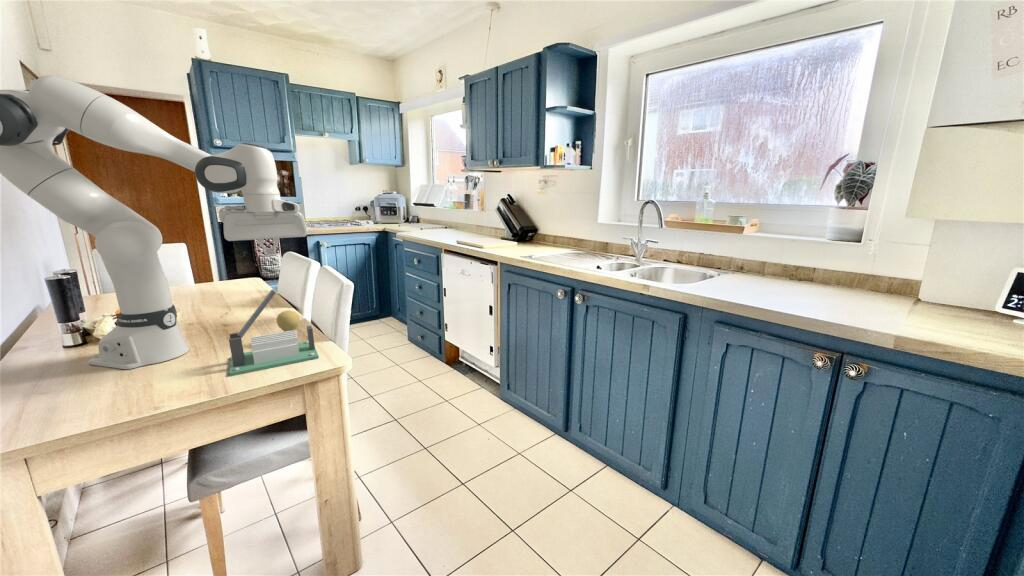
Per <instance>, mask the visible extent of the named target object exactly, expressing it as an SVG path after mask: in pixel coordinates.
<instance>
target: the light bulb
mask: <svg viewBox="0 0 1024 576" xmlns="http://www.w3.org/2000/svg"><path fill="white" fill-rule="evenodd" d="M300 322H301V318H300V314H299V313H298V312H296V311H295V310H290V309H289V310H284V311H281V312H280V313H279V314H278V315H277V317H276V324H277V326H278V328H279V329H281V330H282V332H286V331H292V330H295V333H296V335H297V340H298V339H299V338H298V337H299V336H298V331H297V328H298V327H299V326H300Z"/></svg>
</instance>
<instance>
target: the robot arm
mask: <svg viewBox="0 0 1024 576" xmlns="http://www.w3.org/2000/svg"><path fill="white" fill-rule="evenodd" d="M70 131H72V132H74V133H76V134H78V135H81V136H83V137H85V138H87V139H90V140H91V141H94V142H97V143H99V144H101V145H105V146H107V147H111V148H114V149H118V150H121V151H124V152H125V151H126V152H131V153H137V154H142V155H147V156H153V157H157V158H160V159H164V160H166V161H167V160H168V161H169V162H172V163H174V164H176V165H178V166H181V167H183V168H185V169H188V170H190V171H192V172H194V174H195V175H194V176H195V178H196V180H197V182H198V183H199V184H200V186H202V187H203V188H204V189H206V190H208V191H210V192H213V193H217V194H228V195H239V194H242V198H243V199H242V200H243V204H244V205H234V206H233V205H232V206H231V205H227V206H224V207H222V208H220V209H219V211H218V216H219V220H220V222H222V223H223V236H224V239H225V240H226V241H228V242H235V241H252V240H253V241H254V240H257V243H258V244H259V246H260V247H261V248H262V249H263V253H264V255H265V256H269V255H270V256H272V255H277V247H278V245H279V244H280V239H284V238H285V239H287V238H302V237H303V238H305V237H306V236H307V235H308V227H307V224H306V220H305V217H304V215H303V214H302V213H301V212H299V211H300V205H299V204H298V203H296V202H292V201H289V200H287V199H282V198H281V192H280V190H279V187H278V180H279V177H278V170H277V165H276V162H275V158H274V155H273V153H272V152H271V151H270V150H269V148H267V147H265V146H262V145H258V144H254V143H248V142H239V143H238V144H236V146H233V147H232V148H230V149H229V150H225V151H223V152H220V153H216V154H211V153H208V152H207V151H204V150H203V149H200V148H198V147H195V146H193V145H192V144H189V143H187V142H185V141H183V140H181V139H179V138H177V137H175V136H173V135H171V133H168V132H167V131H165V130H164V129H163V128H161V127H159V126H158V125H156V124H155V123H153V122H152V121H150V120H149V119H148V118H146V117H145V116H143V115H141V114H140V113H138V112H137V111H136V110H134V109H132V108H131V107H129V106H127V105H126V104H124V103H122V102H120V101H119V100H116V99H115V98H113V97H111V96H108V95H106V94H105V93H103V92H100V91H98V90H96V89H93V88H91V87H89V86H86V85H84V84H82V83H80V82H76V81H74V80H71V79H68V78H65V77H61V76H58V75H50V74H49V75H43V76H40V77H38V78H37V79H35V80H34V81H33V82H32V84H30V87H29V89H0V174H1V175H2V176H3V177H4V178H5V179H6V180H7V181H9V183H11V184H12V185H13V186H15V188H17V189H18V190H20V191H21V192H22V193H24V195H26V196H27V197H30V199H31V200H32V199H33V201H35V202H37V203H38V204H39V205H41V206H42V207H43V208H45V209H47V210H48V211H49V212H50V213H52V214H54V215H55V216H56V217H58V218H59V219H60V220H62V221H64V222H66V223H67V224H69V225H72V226H74V227H75V228H78V229H80V230H82V231H84V232H86V233H88V234H90V235H92V236H93V237H95V240H94V246H95V248H96V249H95V250H96V251H97V253H98V255H99V256H100V257H101V260H102V261H101V262H103V265H104V267H105V270H106V272H107V275H108V276H109V277H110V278H109V279H110V280H111V283H112V285H113V288H114V292H115V296H116V300H117V304H118V307H119V313H116V314H113V315H111V317H113V318H112V320H116V319H117V322H116V326H115V327H113V329H112V330H110V331H109V332H108V333H107V334H105V335H104V336H103V337H102V338H101V339H99V342H98V346H97V347H98V354H97V355H95V356H94V357H91V358H90V359H89V360H88V364H89V365H92V366H99V367H105V368H114V369H120V370H122V369H123V370H131V369H135V368H139V367H142V366H143V367H144V366H147V365H153V364H159V363H162V362H166V361H169V360H173V359H175V358H178V357H181V356H182V355H185V354H186V353H188V352H189V350H190V348H189V346H188V343H187V340H186V339H185V338H184V336H183V333H182V330H181V327H180V324H179V321H178V320H177V317H178V315H177V309H176V306H175V305H174V304H173V301H172V296H171V291H170V287H169V283H168V277H167V276H166V274H165V272H164V269H163V267H162V264H161V261H160V257H159V255H158V251H159V250H160V249H161V246H162V244H163V235H162V233H161V231H160V229H159V228H158V227H157V226H156V225H154V224H153V223H152V222H150V221H149V220H148V219H146V218H144V217H143V216H141V215H140V214H139V213H137V212H136V211H135V210H133V209H132V208H130V207H129V206H127V205H126V204H124V203H122V202H121V201H119V200H118V199H116V198H114V197H113V196H112V195H110V194H108V193H107V192H106V191H104V190H103V189H102V188H100V187H99V186H98V185H97V184H95V183H94V182H93V181H91V179H89V178H87V177H86V176H85V175H83V173H81V172H80V171H79V170H77V168H74V167H73V166H72V165H71V164H69V163H68V162H67V161H65V160H64V159H62V158H61V157H60V156H59V155H58V154H57V153H56V152H55V150H54V148H53V146H60V145H61V144H62V143H64V142H63V141H64V139H65V136H67V134H68V133H69V132H70ZM269 239H272V241H273V243H274V244H273V246H272V247H266V245H265V244H264V243H265V240H269Z"/></svg>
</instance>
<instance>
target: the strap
mask: <svg viewBox="0 0 1024 576" xmlns="http://www.w3.org/2000/svg"><path fill="white" fill-rule="evenodd" d="M276 293H277V292H276V290H275V289H273V288H272V289H270V291H269V292H268V293H267V295H266V297H265V298H264V299H263V300H262V301H261V303H260V304H259V306H257V308H256V309H255V310H254V312H253V314H251V316H250V317H249V319H247V322H246V323H245V324H244V325H243V326H242V328H240V330H239V333H238V332H237V333H238V334H237V336H236V338H239V337H240V339H241V340H242V338H243V337H244V336H245V334H246V333H247V331H249V329H250V328H251V327H252V325H253V324H254V323H255V321H256V320H257V318H258V317H259V316H260V315H261V313H262V312H263V310H264V309H265V308H266V307H267V306H268V304H269V303H270V301H272V299H273V297H274V296H275V295H276Z"/></svg>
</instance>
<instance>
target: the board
mask: <svg viewBox="0 0 1024 576" xmlns="http://www.w3.org/2000/svg"><path fill="white" fill-rule="evenodd" d="M306 331H307V332H306V333H307V340H305V341H302V342H299V340H298V339H297V337H298V334H297V335H296V333H295V330H292V331H286V332H284V331H280V332H275V333H274V332H273V333H269V334H262V335H257V336H251V337H250V342H251V343H250V344H251V346H250V347H251V351H246V352H245V351H244V347H243V341H242V338H241V339H240V337H239V338H236V336H237V334H238V333H239V332H240V331H239V332H232V333H229V339H228V342H229V348H230V353H231V354H230V355H231V356H230V364H229V376H230V377H233V376H237V375H242V374H248V373H253V372H259V371H263V370H267V369H272V368H278V367H282V366H287V365H291V364H292V365H294V364H298V363H302V362H307V361H312V360H317V359H319V358H320V357H319V354H318V351H317V349H316V347H315V341H314V339H315V338H314V337H315V336H314V331H313V327H312V325H306Z"/></svg>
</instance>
